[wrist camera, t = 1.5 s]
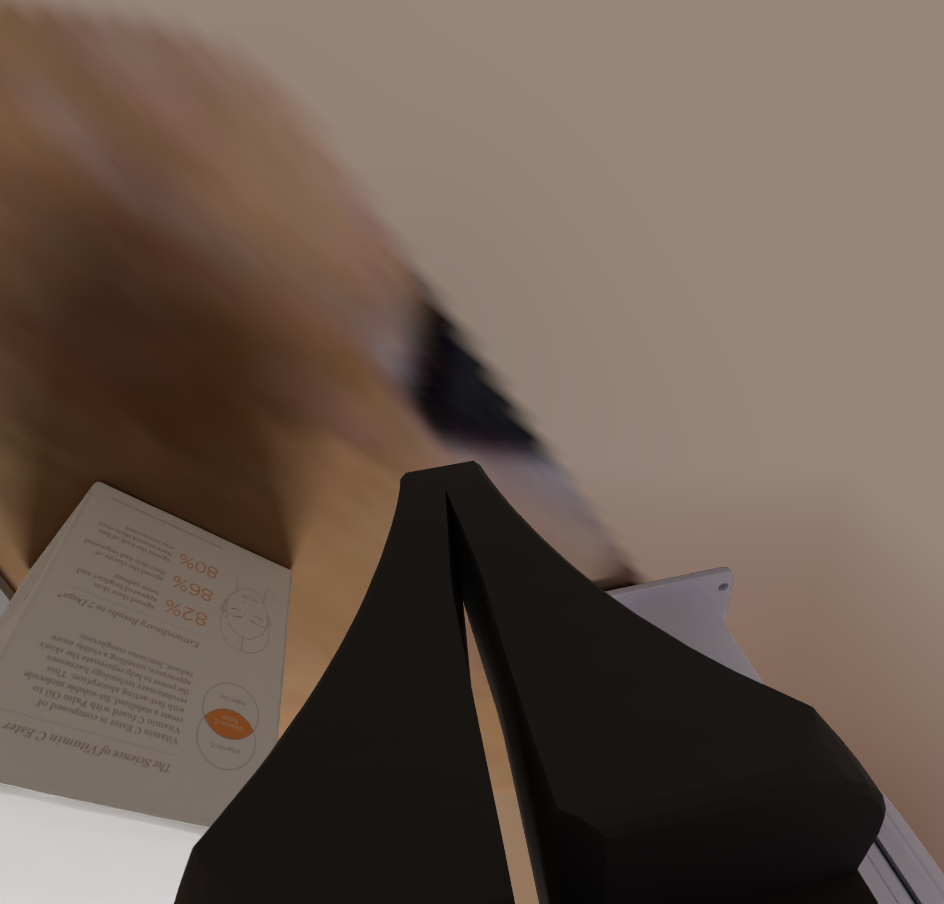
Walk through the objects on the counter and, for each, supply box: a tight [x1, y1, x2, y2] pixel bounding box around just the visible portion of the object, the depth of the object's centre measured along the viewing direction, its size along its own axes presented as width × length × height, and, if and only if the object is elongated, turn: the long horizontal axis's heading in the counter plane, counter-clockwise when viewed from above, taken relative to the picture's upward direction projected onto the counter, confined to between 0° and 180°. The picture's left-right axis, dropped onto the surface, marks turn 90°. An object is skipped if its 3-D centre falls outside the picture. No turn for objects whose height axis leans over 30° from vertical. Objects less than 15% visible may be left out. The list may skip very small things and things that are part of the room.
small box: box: [0, 482, 292, 904], centre depth 19 cm, size 8×6×10 cm
